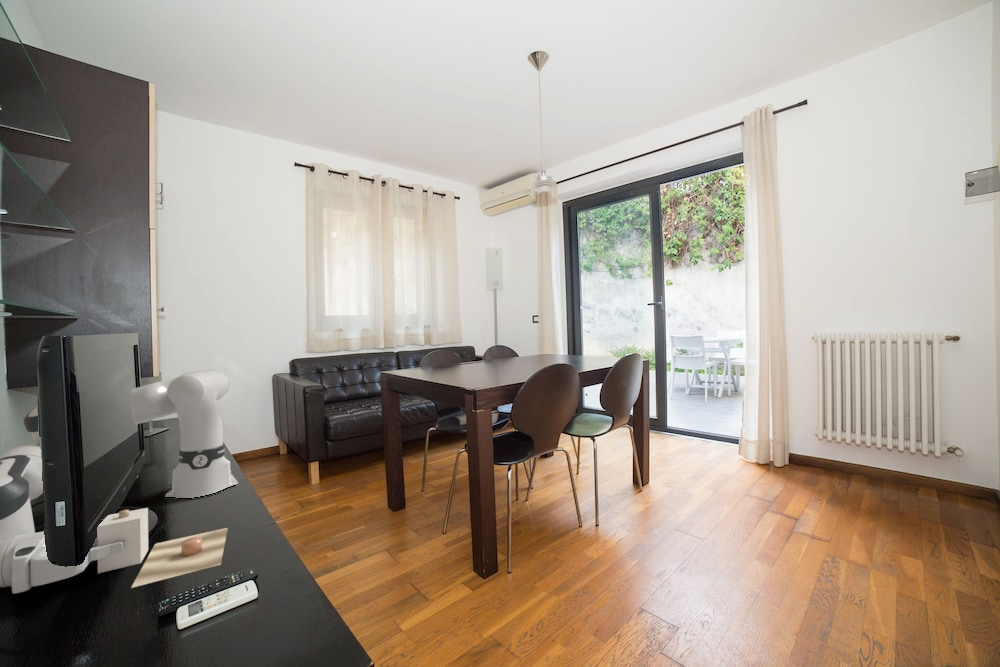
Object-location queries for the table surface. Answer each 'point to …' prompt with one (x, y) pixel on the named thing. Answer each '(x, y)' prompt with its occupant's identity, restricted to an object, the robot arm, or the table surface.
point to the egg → (191, 546)
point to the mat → (181, 558)
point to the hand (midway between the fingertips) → (129, 536)
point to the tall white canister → (124, 538)
